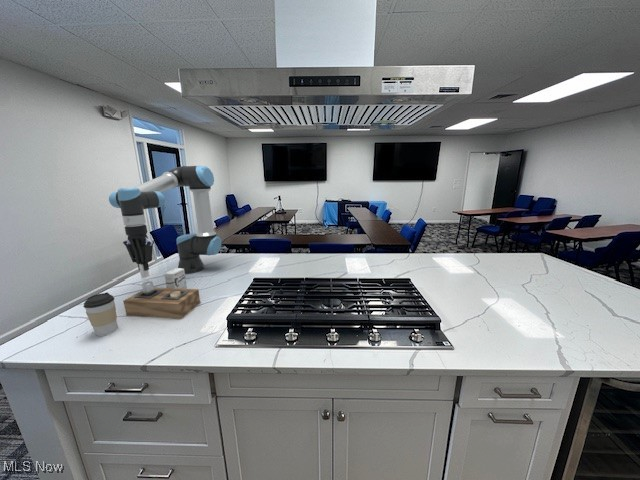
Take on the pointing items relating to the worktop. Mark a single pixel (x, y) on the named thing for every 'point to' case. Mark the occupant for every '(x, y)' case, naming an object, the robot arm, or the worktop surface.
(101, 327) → the coffee cup
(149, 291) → the steel pin
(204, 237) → the robot arm
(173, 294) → the birch dowel
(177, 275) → the ink box
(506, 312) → the worktop surface
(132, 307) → the walnut block
